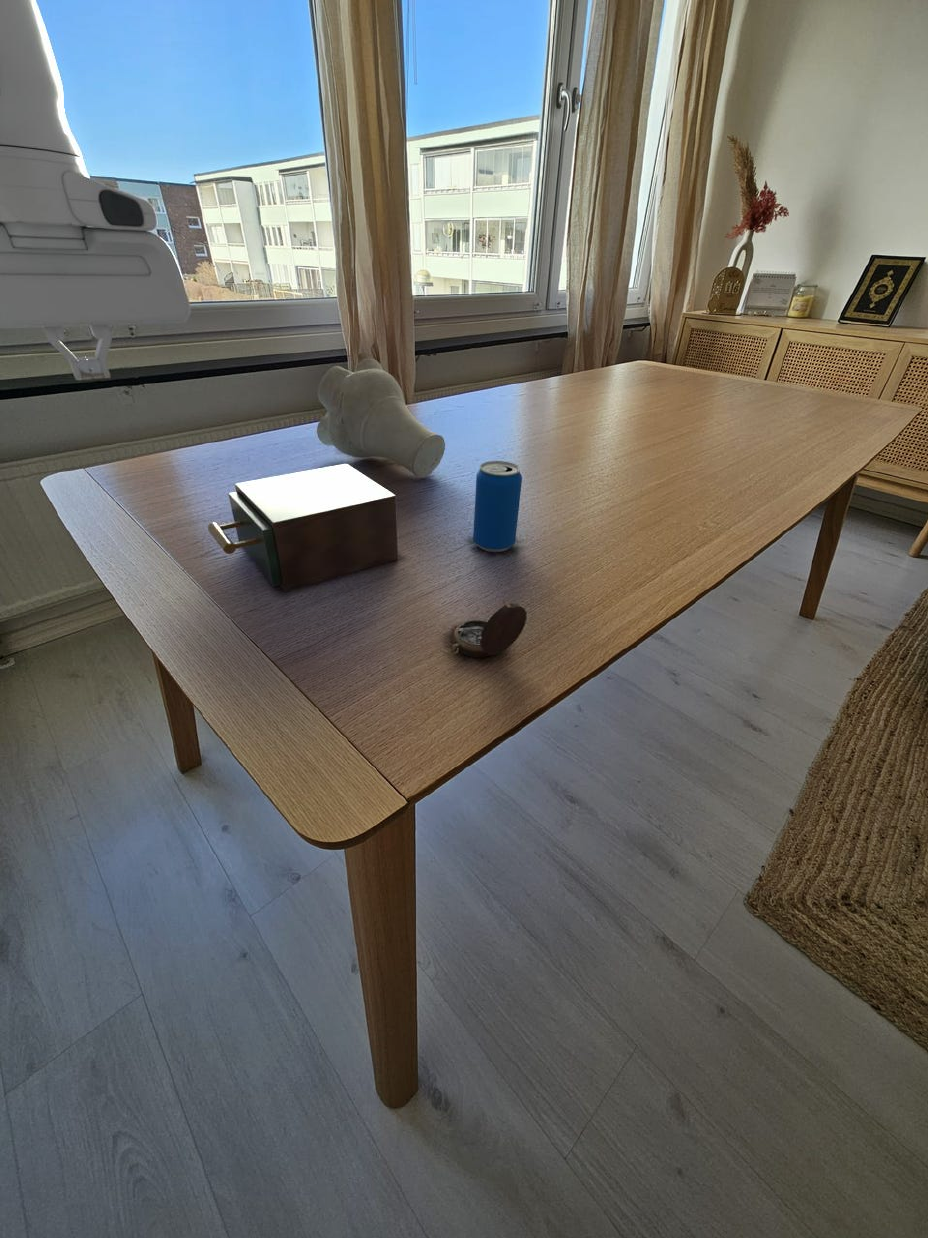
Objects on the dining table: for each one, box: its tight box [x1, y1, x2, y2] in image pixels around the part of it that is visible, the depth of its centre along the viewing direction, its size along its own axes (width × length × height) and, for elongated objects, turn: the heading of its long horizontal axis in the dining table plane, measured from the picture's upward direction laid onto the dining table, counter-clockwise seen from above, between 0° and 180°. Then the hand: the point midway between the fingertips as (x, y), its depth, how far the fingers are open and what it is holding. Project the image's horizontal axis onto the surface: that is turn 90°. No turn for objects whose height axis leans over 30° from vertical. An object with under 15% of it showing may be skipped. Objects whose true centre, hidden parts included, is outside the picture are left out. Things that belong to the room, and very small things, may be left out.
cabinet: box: [234, 463, 399, 593], centre depth 74 cm, size 17×15×10 cm
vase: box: [316, 358, 446, 479], centre depth 103 cm, size 22×22×28 cm
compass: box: [441, 601, 528, 658], centre depth 58 cm, size 8×8×7 cm
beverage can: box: [472, 460, 523, 553], centre depth 78 cm, size 6×6×12 cm
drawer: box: [207, 491, 282, 587], centre depth 73 cm, size 20×13×8 cm
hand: (93, 378), depth 52 cm, fingers closed
